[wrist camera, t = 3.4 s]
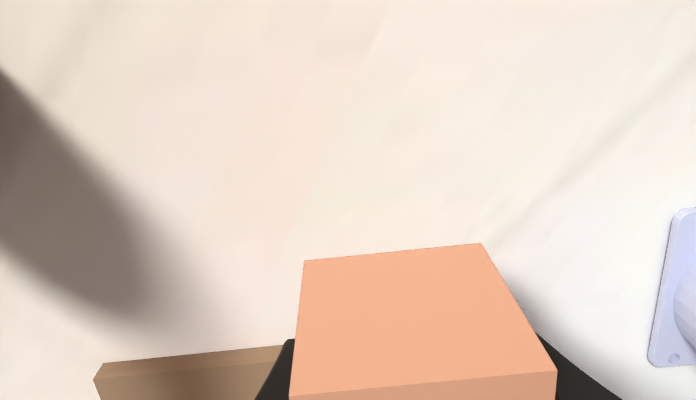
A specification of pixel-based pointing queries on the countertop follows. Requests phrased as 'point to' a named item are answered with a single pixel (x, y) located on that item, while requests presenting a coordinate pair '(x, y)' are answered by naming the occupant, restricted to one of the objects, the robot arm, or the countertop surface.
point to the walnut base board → (189, 376)
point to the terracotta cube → (415, 330)
